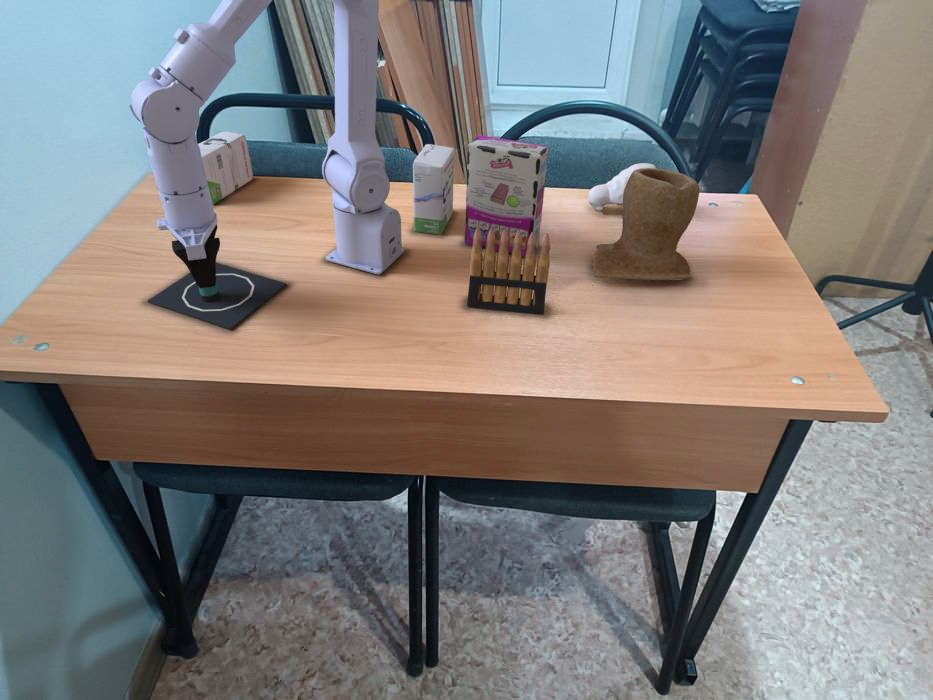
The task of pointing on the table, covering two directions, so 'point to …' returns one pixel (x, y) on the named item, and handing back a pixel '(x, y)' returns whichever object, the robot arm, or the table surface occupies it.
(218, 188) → the ink box
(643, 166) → the white rounded piece
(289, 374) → the table surface
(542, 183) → the candy bar box
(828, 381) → the table surface
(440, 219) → the ink box
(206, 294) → the marker
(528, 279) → the ammunition clip
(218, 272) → the mat
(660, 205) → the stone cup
